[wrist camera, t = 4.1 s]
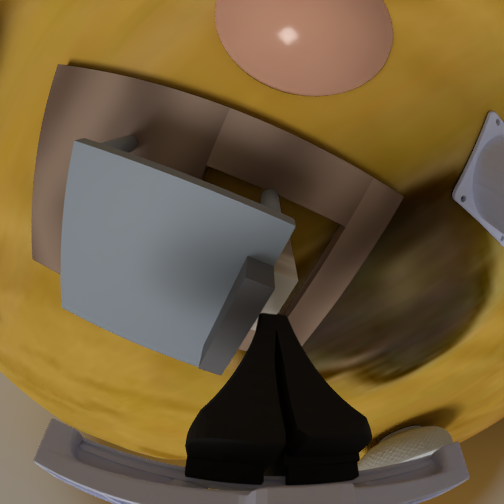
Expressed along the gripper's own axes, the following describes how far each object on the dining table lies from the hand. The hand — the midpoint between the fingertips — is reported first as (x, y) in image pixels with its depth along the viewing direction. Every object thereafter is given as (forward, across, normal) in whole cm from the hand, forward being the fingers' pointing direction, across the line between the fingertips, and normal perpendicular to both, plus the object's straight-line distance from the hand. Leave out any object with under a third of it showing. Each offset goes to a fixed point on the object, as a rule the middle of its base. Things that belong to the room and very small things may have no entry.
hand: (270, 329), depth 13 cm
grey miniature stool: (+5, +6, -2) cm, 8 cm away
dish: (+7, 0, -16) cm, 17 cm away
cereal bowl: (+7, -28, +31) cm, 42 cm away
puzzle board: (+7, +6, -2) cm, 9 cm away
